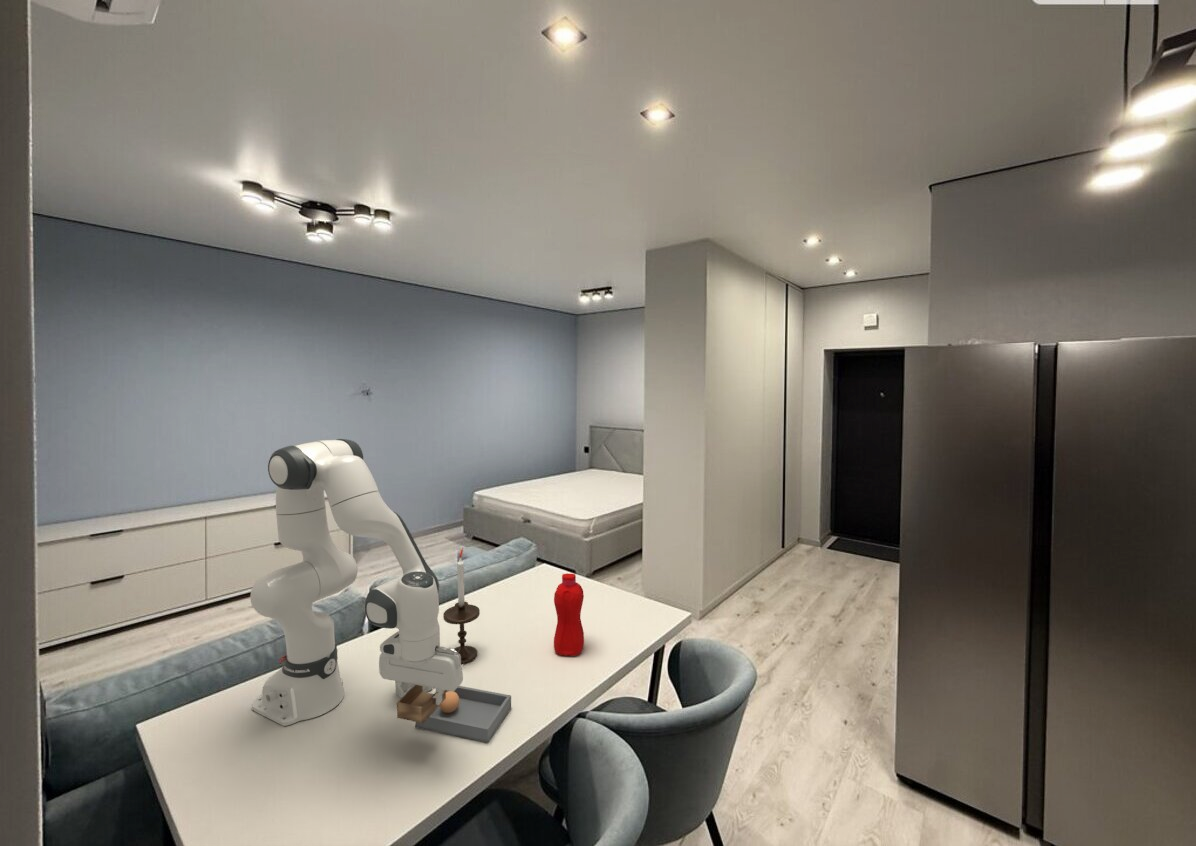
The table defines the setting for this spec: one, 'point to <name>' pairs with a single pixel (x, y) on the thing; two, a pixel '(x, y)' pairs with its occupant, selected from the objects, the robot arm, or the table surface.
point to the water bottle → (568, 617)
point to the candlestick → (462, 617)
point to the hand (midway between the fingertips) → (421, 700)
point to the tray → (471, 715)
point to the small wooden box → (417, 705)
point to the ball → (450, 702)
